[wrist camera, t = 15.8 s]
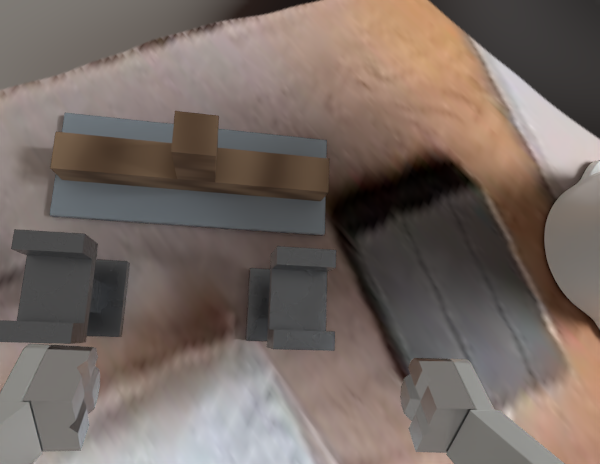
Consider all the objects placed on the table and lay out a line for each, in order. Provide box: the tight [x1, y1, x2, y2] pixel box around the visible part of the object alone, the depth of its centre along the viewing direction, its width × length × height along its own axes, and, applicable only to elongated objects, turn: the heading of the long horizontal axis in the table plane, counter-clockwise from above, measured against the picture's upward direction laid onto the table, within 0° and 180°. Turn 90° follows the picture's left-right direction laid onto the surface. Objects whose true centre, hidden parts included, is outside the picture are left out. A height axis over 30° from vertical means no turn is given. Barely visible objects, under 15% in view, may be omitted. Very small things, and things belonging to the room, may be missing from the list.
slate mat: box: [50, 113, 327, 235], centre depth 42 cm, size 23×9×1 cm, turn 88°
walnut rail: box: [50, 111, 329, 201], centre depth 37 cm, size 22×3×9 cm, turn 88°
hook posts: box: [0, 229, 336, 351], centre depth 34 cm, size 22×7×10 cm, turn 88°
